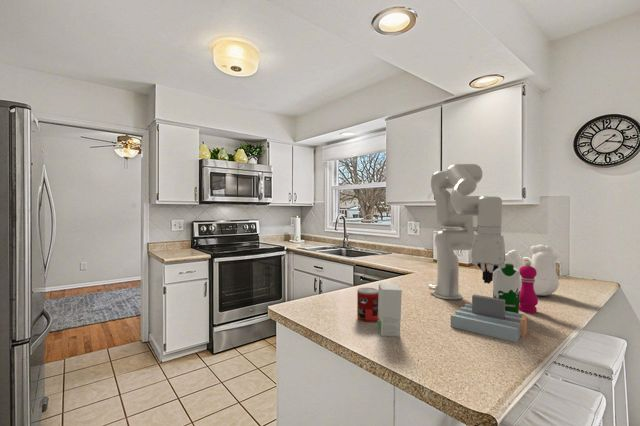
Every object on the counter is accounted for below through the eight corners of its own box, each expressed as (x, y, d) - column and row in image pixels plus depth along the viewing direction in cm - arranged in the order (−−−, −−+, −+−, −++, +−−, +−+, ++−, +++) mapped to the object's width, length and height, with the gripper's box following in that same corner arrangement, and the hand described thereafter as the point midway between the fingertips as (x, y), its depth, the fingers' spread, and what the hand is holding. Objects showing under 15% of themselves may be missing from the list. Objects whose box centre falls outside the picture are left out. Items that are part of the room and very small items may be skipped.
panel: (504, 325, 108) (505, 299, 108) (503, 327, 106) (503, 301, 106) (473, 318, 115) (474, 294, 115) (471, 320, 113) (472, 295, 113)
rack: (450, 326, 110) (450, 310, 110) (465, 313, 124) (466, 299, 124) (521, 343, 96) (521, 325, 96) (529, 326, 110) (529, 311, 110)
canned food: (355, 315, 121) (355, 287, 121) (375, 315, 121) (375, 287, 121) (359, 323, 113) (359, 292, 113) (381, 322, 114) (381, 292, 114)
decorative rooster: (563, 295, 151) (564, 244, 151) (550, 301, 142) (551, 246, 142) (508, 285, 171) (508, 240, 171) (494, 289, 162) (494, 241, 162)
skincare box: (377, 327, 109) (377, 282, 109) (396, 327, 109) (396, 283, 109) (381, 336, 101) (381, 288, 101) (401, 337, 101) (402, 289, 100)
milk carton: (495, 315, 122) (496, 264, 121) (491, 308, 130) (491, 261, 130) (521, 318, 119) (522, 266, 119) (515, 311, 127) (515, 262, 127)
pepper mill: (541, 314, 124) (542, 263, 124) (521, 312, 125) (521, 263, 125) (532, 308, 131) (533, 261, 131) (514, 307, 132) (514, 260, 132)
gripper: (463, 230, 112) (462, 281, 113) (511, 233, 103) (509, 288, 103) (469, 229, 118) (468, 277, 119) (515, 232, 108) (513, 284, 109)
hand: (487, 282), depth 111 cm, fingers closed
